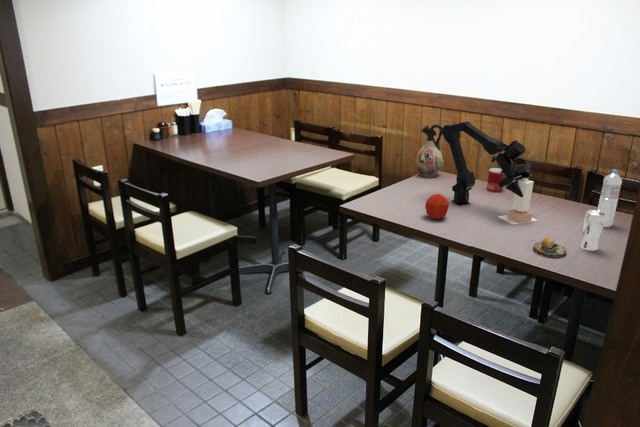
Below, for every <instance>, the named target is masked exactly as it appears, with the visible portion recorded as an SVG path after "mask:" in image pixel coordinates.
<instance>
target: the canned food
mask: <svg viewBox="0 0 640 427" xmlns="http://www.w3.org/2000/svg"><path fill="white" fill-rule="evenodd" d="M501 171H502V170H501V168H500V167H499V168H498V167H491V168H489V170H488V175H487V185H486V190H487V191H488V192H492V193H501V192H502V191H503V190H504V188H501V189H500V188H499V186H498V182H499V181H501V180H502V179H504V178H505V177H506V176H505V175H504V173H502V174H501Z"/></svg>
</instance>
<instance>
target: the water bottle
mask: <svg viewBox="0 0 640 427" xmlns="http://www.w3.org/2000/svg"><path fill="white" fill-rule="evenodd" d="M622 183H623V180H622V178H621V177H620V175H619V174H618V169H612V172H611V173H609V174H608V175H606V176H605V177H604V178H603V183H602V188H601V192H600V196H599V201H598V204H597V205H598V206H597V210H598V211H602V212H604V213H605V214H606V215H605V222H604V227H603V228H607V229H608V228H611V227H612V226H613V224H614V219H615V214H616V209H617V206H618V201H619V195H620V191H621V187H622Z"/></svg>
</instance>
